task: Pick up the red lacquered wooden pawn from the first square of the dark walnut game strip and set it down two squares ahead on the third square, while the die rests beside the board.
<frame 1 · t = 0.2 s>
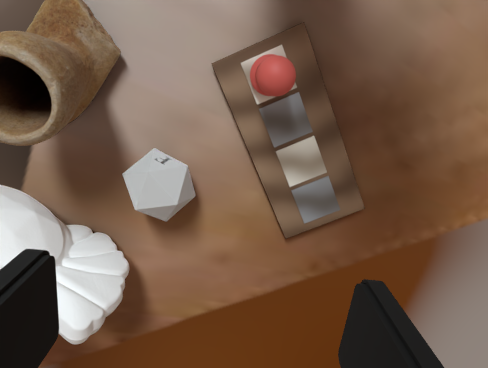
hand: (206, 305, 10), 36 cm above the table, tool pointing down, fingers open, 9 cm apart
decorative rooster: (51, 238, 50), on the table
stone cup: (76, 69, 42), on the table
board: (292, 139, 46), on the table
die: (166, 176, 47), on the table
pawn: (269, 75, 42), point 1 cm above the table, touching board
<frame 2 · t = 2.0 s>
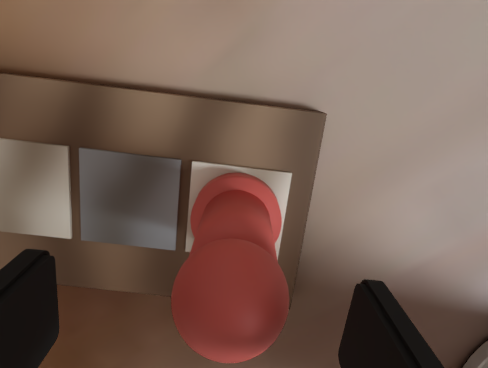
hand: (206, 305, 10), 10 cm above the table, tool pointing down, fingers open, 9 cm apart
board: (86, 187, 20), on the table
pawn: (236, 213, 19), point 1 cm above the table, touching board
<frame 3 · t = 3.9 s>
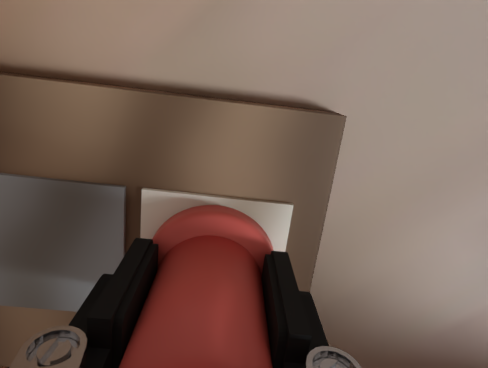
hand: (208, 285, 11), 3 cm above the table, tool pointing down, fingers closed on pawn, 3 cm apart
pawn: (211, 263, 13), point 1 cm above the table, touching board, gripper
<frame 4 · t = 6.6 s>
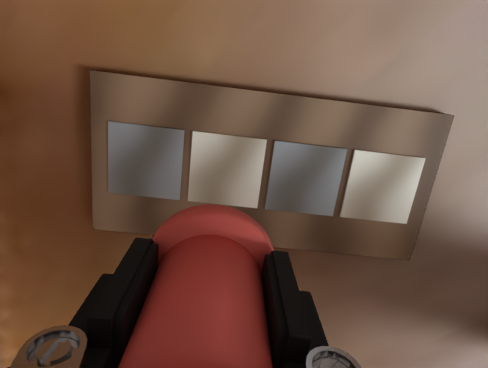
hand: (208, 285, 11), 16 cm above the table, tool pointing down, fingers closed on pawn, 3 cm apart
board: (264, 170, 27), on the table
pawn: (211, 263, 13), point 14 cm above the table, touching gripper
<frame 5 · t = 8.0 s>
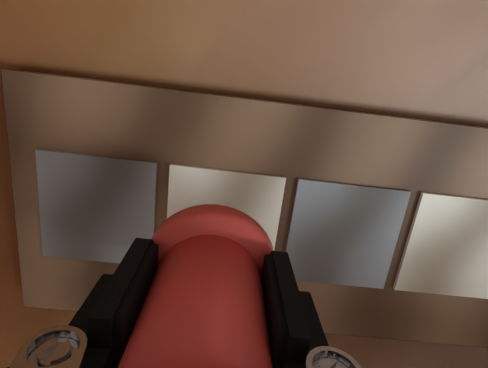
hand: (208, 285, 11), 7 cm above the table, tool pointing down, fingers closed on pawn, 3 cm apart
board: (280, 219, 18), on the table
pawn: (211, 263, 13), point 5 cm above the table, touching gripper
when the fingers open (4 cm above the table, at t = 9.3 s): pawn drops 1 cm, resting on board.
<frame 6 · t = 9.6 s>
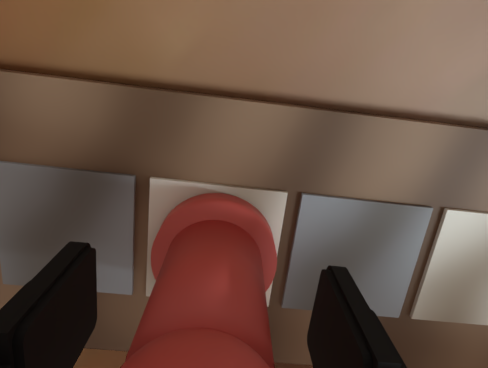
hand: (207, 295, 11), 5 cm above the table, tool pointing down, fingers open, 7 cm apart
board: (280, 238, 15), on the table
pawn: (216, 247, 14), point 1 cm above the table, touching board
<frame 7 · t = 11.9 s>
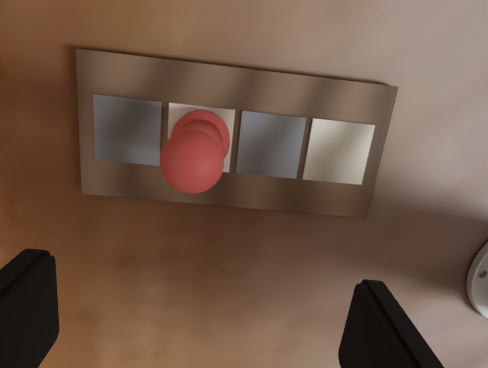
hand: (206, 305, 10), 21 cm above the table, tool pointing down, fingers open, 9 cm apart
board: (235, 139, 30), on the table
pawn: (201, 138, 28), point 1 cm above the table, touching board
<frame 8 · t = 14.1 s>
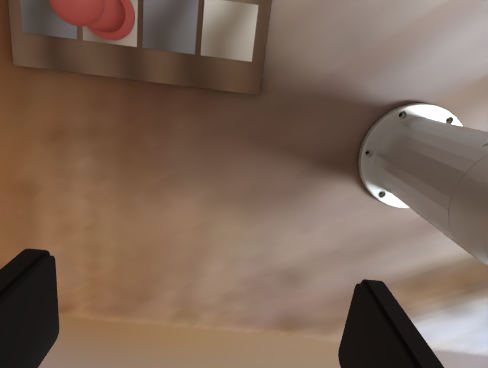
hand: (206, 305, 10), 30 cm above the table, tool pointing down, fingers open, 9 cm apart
board: (143, 20, 35), on the table
pawn: (110, 14, 34), point 1 cm above the table, touching board
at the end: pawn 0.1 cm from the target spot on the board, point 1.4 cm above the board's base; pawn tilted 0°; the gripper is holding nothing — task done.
